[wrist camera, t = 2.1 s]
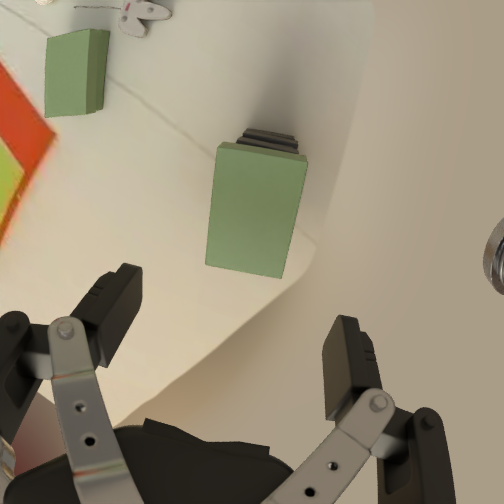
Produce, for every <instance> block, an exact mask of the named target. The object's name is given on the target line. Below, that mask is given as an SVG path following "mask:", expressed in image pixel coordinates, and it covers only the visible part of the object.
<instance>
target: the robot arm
mask: <svg viewBox="0 0 504 504" xmlns="http://www.w3.org/2000/svg"><path fill="white" fill-rule="evenodd" d="M142 274H143V272H142V267H139V266H135V265H132V264H128V263H123V264H122V265H121V266H120V268H119V269H118V270H117V272H116V273H114V272H108V273H106V274H104V275H103V276H101V277H99V279H98V280H97V281H96V282H95V284H94V285H93V287H91V289H90V290H89V291H88V293H87V294H86V295H85V296H84V297H83V299H82V300H81V301H80V303H79V304H78V305H77V307H76V308H75V309H74V310H73V312H72V313H71V314H70V316H65V317H60V318H57V319H56V320H54V321H53V322H52V323H51V324H50V325H41V324H31V323H30V321H29V318H28V316H27V315H26V314H25V313H23V312H21V311H11V312H8V313H6V314H4V315H3V316H1V318H0V504H334V503H335V501H336V500H337V499H338V498H339V497H340V495H341V494H342V493H343V492H344V490H345V489H346V488H347V486H348V485H349V484H350V483H351V481H352V480H353V479H354V478H355V476H356V475H357V473H358V472H359V471H360V469H361V468H362V467H363V465H364V464H365V462H366V461H367V460H368V458H369V457H370V455H372V456H375V457H377V478H378V504H456V498H455V490H454V482H453V475H452V469H451V463H450V457H449V451H448V446H447V441H446V436H445V431H444V426H443V422H442V419H441V417H440V416H439V414H438V413H437V412H436V411H434V410H433V409H430V408H426V407H423V408H420V409H418V410H417V411H416V412H415V413H414V414H413V413H410V412H408V411H405V410H402V409H400V408H398V407H396V406H395V403H394V400H393V399H392V397H391V396H390V395H389V394H388V393H386V392H385V391H383V389H382V384H381V380H380V374H379V370H378V365H377V362H376V356H375V354H374V347H373V343H372V341H371V339H370V338H369V336H368V335H367V333H366V332H361V331H360V328H359V323H358V319H357V318H354V317H349V316H344V315H338V316H337V318H336V320H335V322H334V324H333V326H332V328H331V330H330V332H329V334H328V336H327V338H326V340H325V342H324V345H323V350H322V361H323V376H324V393H325V414H326V420H329V421H335V426H336V427H335V428H334V429H333V430H332V432H331V433H330V434H329V435H328V436H327V437H326V439H324V441H323V442H322V443H321V444H320V445H319V446H318V447H317V448H316V449H315V451H314V452H313V453H312V454H311V455H310V456H309V457H308V458H307V459H306V460H305V461H304V462H303V463H302V464H301V465H300V466H299V467H298V468H297V469H296V470H295V471H293V470H292V468H291V467H289V466H288V465H287V464H286V463H284V462H283V461H281V460H280V459H277V458H276V457H274V456H271V455H269V449H270V447H269V446H262V445H256V444H251V443H245V442H206V441H203V440H201V439H199V438H197V437H195V436H193V435H190V434H189V433H186V432H184V431H183V430H181V429H179V428H177V427H175V426H171V425H168V424H164V423H161V422H157V421H154V420H151V419H148V418H146V419H145V421H144V424H143V425H128V426H123V427H118V428H115V429H113V428H112V425H111V422H110V419H109V416H108V413H107V410H106V407H105V404H104V401H103V398H102V394H101V391H100V388H99V384H98V381H97V377H96V374H95V370H96V368H97V367H98V365H99V366H102V367H105V368H108V366H109V364H110V362H111V360H112V358H113V356H114V354H115V353H116V351H117V349H118V347H119V345H120V343H121V342H122V340H123V338H124V336H125V334H126V333H127V331H128V329H129V327H130V325H131V324H132V322H133V320H134V318H135V317H136V315H137V313H138V311H139V309H140V306H141V302H142ZM499 278H500V280H501V282H502V284H503V285H504V251H503V253H502V256H501V259H500V263H499ZM43 379H46V380H51V384H52V390H53V396H54V401H55V406H56V411H57V416H58V421H59V425H60V429H61V433H62V437H63V441H64V445H65V449H66V453H65V454H63V455H61V456H59V457H57V458H54V459H52V460H50V461H48V462H46V463H44V464H42V465H40V466H37V467H35V468H33V469H31V470H29V471H27V472H24V473H22V474H19V475H18V476H16V477H15V476H14V465H15V453H14V451H13V449H12V447H11V444H12V442H13V440H14V437H15V435H16V433H17V431H18V429H19V427H20V425H21V422H22V420H23V418H24V416H25V414H26V412H27V410H28V408H29V406H30V404H31V402H32V400H33V398H34V396H35V394H36V392H37V391H38V389H39V387H40V385H41V383H42V381H43Z"/></svg>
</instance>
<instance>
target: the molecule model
mask: <svg viewBox="0 0 504 504" xmlns="http://www.w3.org/2000/svg"><path fill="white" fill-rule="evenodd" d="M35 1H36V2H37V3H38V4H41V5H45V4H48V3H50V2H52V1H53V0H35Z"/></svg>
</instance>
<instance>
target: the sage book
mask: <svg viewBox="0 0 504 504" xmlns="http://www.w3.org/2000/svg"><path fill="white" fill-rule="evenodd" d="M307 166H308V161H307V157H306V156H304V155H299V154H294V153H289V152H283V151H278V150H272V149H267V148H261V147H255V146H249V145H243V144H236V143H230V142H222V143H221V144H220V145H219V146H218V147H217V155H216V163H215V171H214V180H213V189H212V198H211V208H210V217H209V227H208V238H207V249H206V260H205V265H208V266H213V267H219V268H224V269H229V270H235V271H240V272H245V273H251V274H256V275H262V276H267V277H273V278H278V279H281V278H282V275H283V271H284V267H285V263H286V258H287V254H288V250H289V246H290V242H291V237H292V233H293V229H294V224H295V220H296V216H297V211H298V207H299V202H300V198H301V194H302V189H303V185H304V180H305V175H306V171H307Z"/></svg>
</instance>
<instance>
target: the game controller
mask: <svg viewBox="0 0 504 504" xmlns="http://www.w3.org/2000/svg"><path fill="white" fill-rule="evenodd" d="M146 1H147V0H124V3H123V5H122V7H121V8H114V7H86V6H74V8H76V7H86V8H114V9H121V11H120V14H119V28H120V31H122V32H124V33H126V34H129V35H132V36H135V37H139V38H143V37H145V36H146V35H147V33H148V30H147V28H146V27H145V26H144V25H143V24H142V22H141V21H140V20H139V19H143V20H167V19H169V18H170V17H171V16H172V13H171V12H170V11H169V10H168V9H167V8H165V7H162V6H159V5H156V4H153V3H151V2H146Z"/></svg>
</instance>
